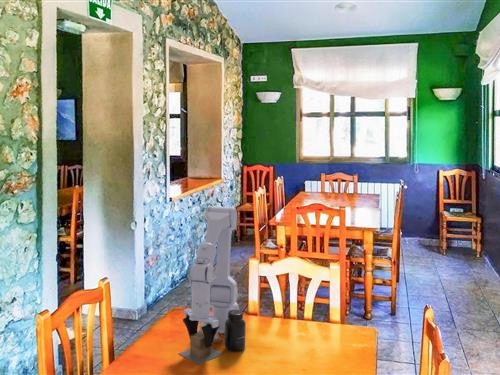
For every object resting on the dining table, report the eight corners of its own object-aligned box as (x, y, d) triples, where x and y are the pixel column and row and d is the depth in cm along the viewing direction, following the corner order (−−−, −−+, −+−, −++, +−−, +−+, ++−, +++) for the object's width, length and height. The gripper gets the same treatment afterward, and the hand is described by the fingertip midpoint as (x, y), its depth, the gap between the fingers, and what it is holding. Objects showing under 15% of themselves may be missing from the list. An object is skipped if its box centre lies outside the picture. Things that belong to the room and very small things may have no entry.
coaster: (202, 344, 168) (202, 344, 168) (223, 354, 161) (223, 353, 161) (178, 353, 161) (178, 353, 161) (198, 364, 154) (198, 363, 154)
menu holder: (195, 334, 176) (195, 317, 176) (202, 332, 178) (202, 315, 178) (215, 343, 169) (215, 325, 169) (221, 340, 171) (221, 323, 171)
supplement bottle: (243, 353, 162) (243, 316, 161) (222, 351, 163) (222, 315, 162) (247, 344, 169) (247, 309, 167) (227, 342, 170) (227, 307, 169)
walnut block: (201, 349, 164) (201, 331, 163) (210, 353, 161) (210, 335, 160) (190, 353, 161) (190, 335, 160) (199, 358, 158) (199, 339, 157)
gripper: (176, 298, 161) (176, 339, 163) (205, 310, 151) (206, 354, 153) (193, 293, 166) (194, 333, 168) (223, 304, 156) (223, 347, 158)
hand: (200, 343), depth 161 cm, fingers open, 7 cm apart
